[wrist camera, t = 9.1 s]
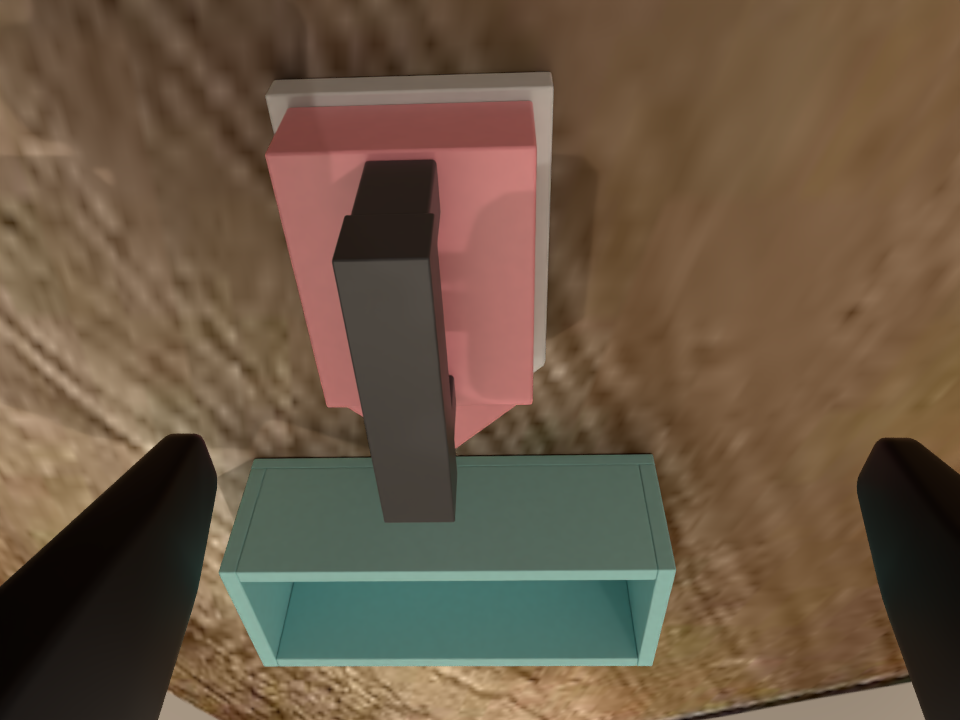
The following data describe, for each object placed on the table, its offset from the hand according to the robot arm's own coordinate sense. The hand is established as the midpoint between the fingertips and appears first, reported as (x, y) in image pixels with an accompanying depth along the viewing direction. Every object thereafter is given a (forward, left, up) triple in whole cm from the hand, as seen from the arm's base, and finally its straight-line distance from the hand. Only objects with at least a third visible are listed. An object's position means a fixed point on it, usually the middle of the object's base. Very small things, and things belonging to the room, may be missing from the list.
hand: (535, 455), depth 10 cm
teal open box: (-3, -17, -12) cm, 21 cm away
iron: (-3, -6, -12) cm, 14 cm away
